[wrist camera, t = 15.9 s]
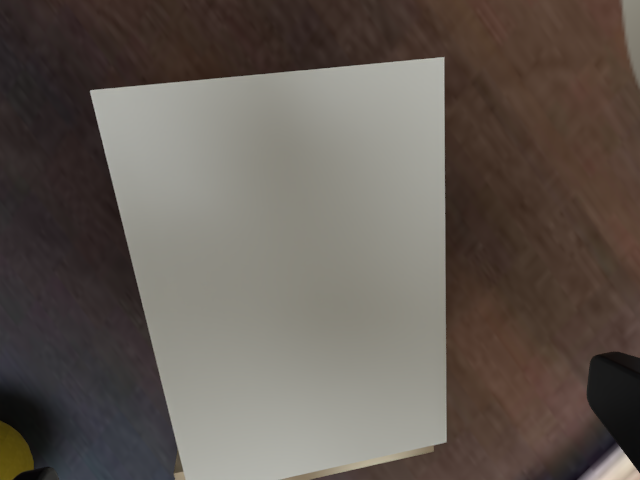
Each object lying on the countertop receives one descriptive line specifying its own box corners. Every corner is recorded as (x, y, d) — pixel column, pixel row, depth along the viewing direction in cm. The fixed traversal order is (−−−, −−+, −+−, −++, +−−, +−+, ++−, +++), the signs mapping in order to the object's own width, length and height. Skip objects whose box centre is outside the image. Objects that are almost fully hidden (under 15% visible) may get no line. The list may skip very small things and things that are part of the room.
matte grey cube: (367, 314, 22) (446, 442, 14) (207, 343, 21) (190, 499, 13) (351, 75, 18) (444, 57, 10) (157, 94, 17) (89, 90, 9)
